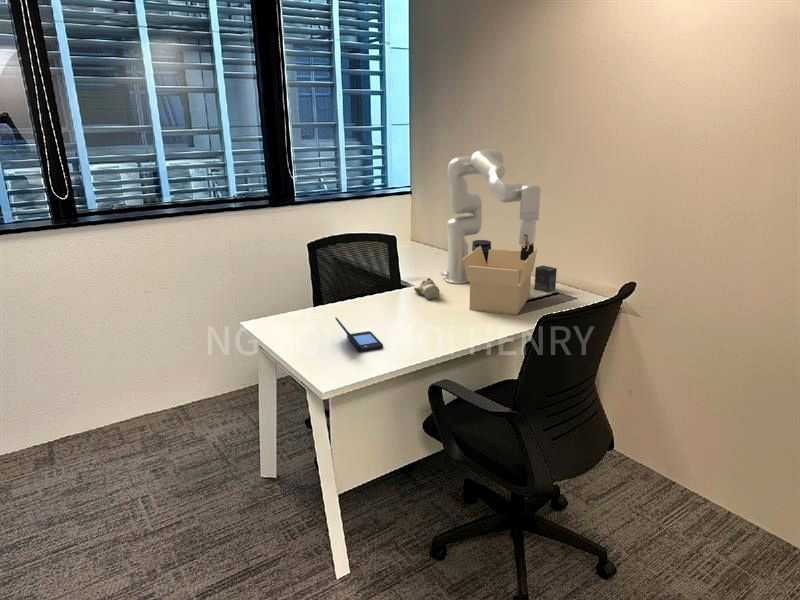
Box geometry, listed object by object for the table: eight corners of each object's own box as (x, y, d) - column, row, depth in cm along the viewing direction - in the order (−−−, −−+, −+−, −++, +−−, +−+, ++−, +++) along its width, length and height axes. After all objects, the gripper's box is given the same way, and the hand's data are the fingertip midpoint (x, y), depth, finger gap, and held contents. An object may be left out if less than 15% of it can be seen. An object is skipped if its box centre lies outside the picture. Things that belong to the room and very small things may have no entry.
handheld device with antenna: (384, 349, 185) (383, 324, 182) (347, 355, 181) (346, 330, 178) (370, 333, 199) (369, 310, 196) (335, 339, 195) (334, 315, 192)
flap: (524, 262, 207) (525, 262, 207) (536, 248, 229) (537, 248, 228) (519, 286, 210) (520, 286, 210) (531, 270, 232) (533, 270, 232)
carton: (458, 310, 221) (459, 260, 214) (480, 289, 248) (481, 244, 242) (515, 317, 212) (518, 265, 205) (531, 294, 239) (533, 248, 232)
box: (555, 290, 245) (557, 268, 242) (548, 292, 242) (549, 270, 238) (541, 286, 251) (542, 264, 247) (533, 289, 247) (535, 267, 244)
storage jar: (470, 271, 278) (470, 243, 274) (473, 266, 287) (473, 239, 283) (489, 272, 276) (490, 244, 271) (491, 267, 285) (492, 240, 280)
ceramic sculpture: (421, 282, 230) (412, 275, 244) (422, 301, 232) (412, 293, 246) (445, 280, 233) (434, 273, 247) (445, 299, 235) (434, 292, 249)
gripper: (524, 212, 222) (522, 252, 227) (515, 219, 207) (513, 261, 213) (542, 213, 219) (540, 253, 224) (534, 220, 204) (531, 263, 210)
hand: (526, 257), depth 218 cm, fingers open, 9 cm apart
